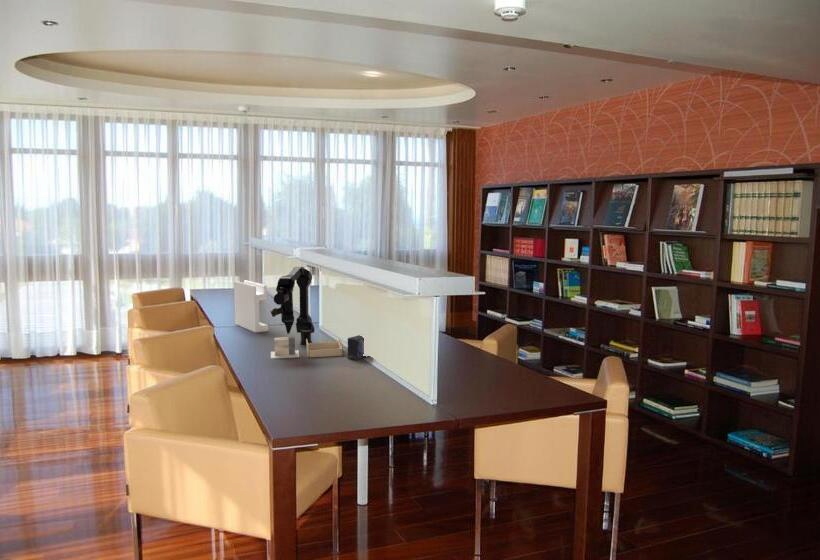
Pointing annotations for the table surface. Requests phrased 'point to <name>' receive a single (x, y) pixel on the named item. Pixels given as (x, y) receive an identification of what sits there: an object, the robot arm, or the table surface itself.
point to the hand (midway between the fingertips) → (288, 331)
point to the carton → (325, 349)
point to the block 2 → (284, 346)
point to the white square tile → (284, 355)
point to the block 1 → (249, 305)
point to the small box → (356, 347)
